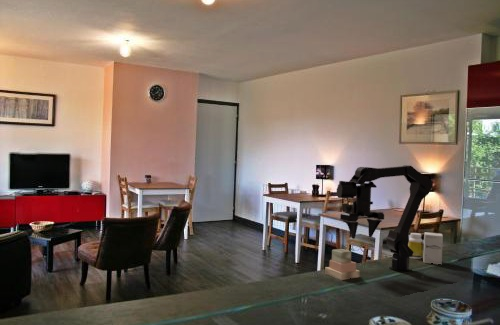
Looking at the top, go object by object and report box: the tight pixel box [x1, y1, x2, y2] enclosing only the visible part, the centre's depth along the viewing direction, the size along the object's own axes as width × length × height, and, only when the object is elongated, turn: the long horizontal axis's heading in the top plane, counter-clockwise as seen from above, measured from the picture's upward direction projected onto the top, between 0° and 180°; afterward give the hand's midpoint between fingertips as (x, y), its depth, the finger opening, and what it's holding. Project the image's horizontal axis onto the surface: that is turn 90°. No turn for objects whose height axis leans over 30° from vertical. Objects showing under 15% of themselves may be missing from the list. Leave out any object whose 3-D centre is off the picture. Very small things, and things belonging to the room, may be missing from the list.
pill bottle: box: [408, 232, 424, 260], centre depth 191 cm, size 6×6×11 cm
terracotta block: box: [328, 259, 357, 273], centre depth 157 cm, size 7×7×3 cm
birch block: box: [324, 266, 361, 281], centre depth 158 cm, size 9×9×3 cm
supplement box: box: [422, 231, 444, 266], centre depth 183 cm, size 7×7×13 cm
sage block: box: [331, 248, 352, 263], centre depth 158 cm, size 5×5×4 cm
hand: (361, 237), depth 165 cm, fingers open, 9 cm apart
